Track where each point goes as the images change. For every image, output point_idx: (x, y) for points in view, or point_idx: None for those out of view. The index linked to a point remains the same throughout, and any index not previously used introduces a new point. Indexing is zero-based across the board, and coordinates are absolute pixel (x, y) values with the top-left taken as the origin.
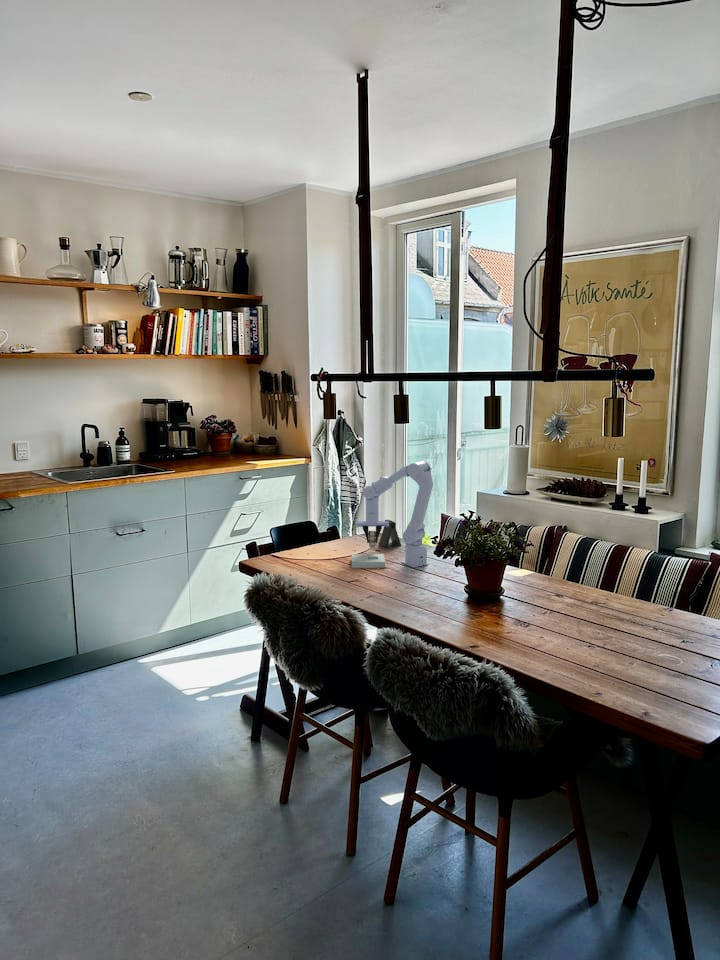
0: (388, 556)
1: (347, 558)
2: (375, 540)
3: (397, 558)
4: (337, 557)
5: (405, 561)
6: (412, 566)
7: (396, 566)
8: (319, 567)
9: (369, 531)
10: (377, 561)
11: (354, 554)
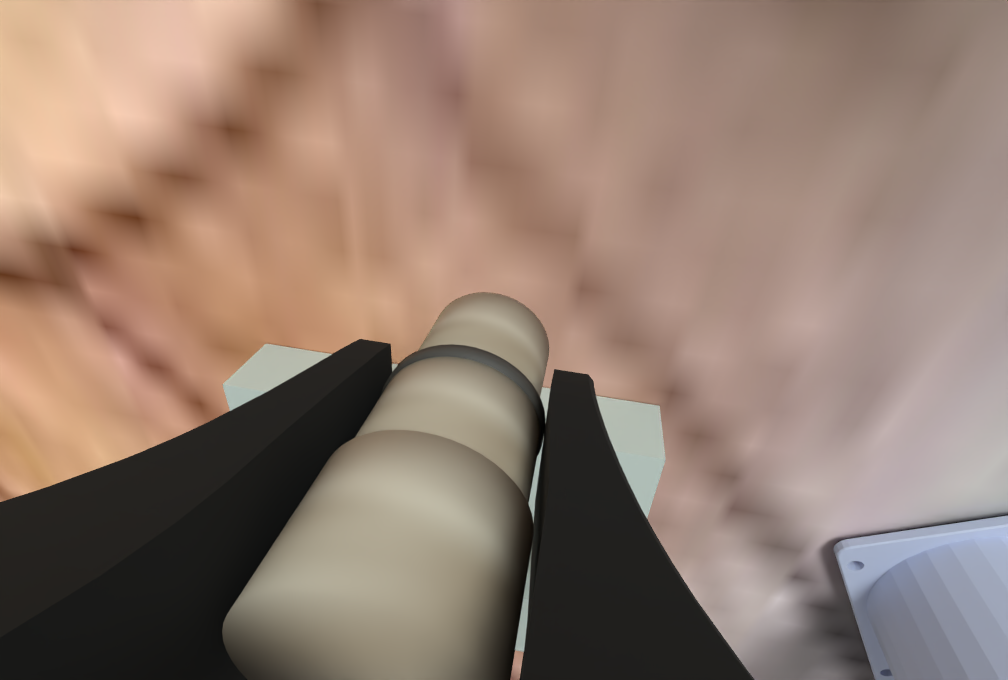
0: (785, 271)
1: (200, 274)
2: (537, 452)
3: (880, 389)
4: (66, 210)
5: (874, 604)
6: (875, 678)
7: (722, 611)
8: (54, 484)
9: (264, 669)
10: (524, 644)
11: (256, 395)
